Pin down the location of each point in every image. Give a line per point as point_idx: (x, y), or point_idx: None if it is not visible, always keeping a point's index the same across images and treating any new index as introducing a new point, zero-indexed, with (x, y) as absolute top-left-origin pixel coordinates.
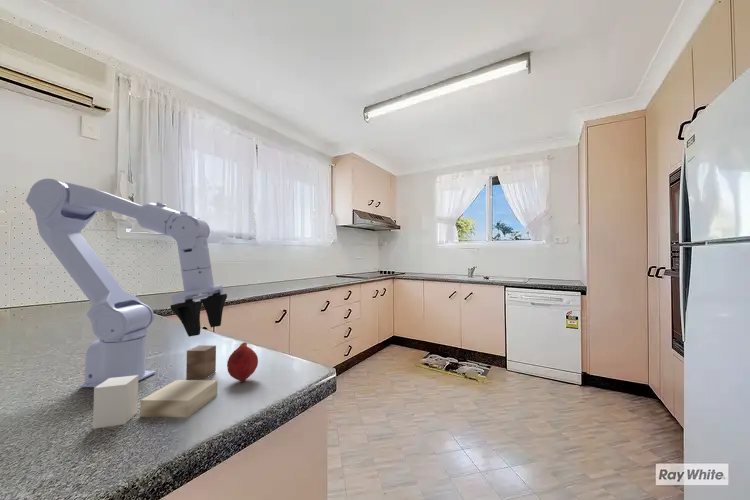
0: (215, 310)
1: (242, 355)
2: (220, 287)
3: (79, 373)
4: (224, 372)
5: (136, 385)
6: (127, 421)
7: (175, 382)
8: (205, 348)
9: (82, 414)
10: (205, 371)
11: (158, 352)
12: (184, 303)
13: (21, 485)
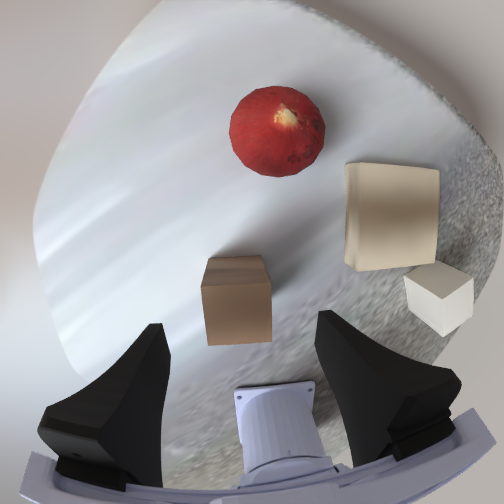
0: (146, 393)
1: (314, 111)
2: (43, 494)
3: None
4: (207, 231)
5: (436, 289)
6: None
7: (370, 261)
8: (242, 299)
9: (399, 347)
10: (258, 261)
11: None
12: (444, 419)
13: (495, 254)
